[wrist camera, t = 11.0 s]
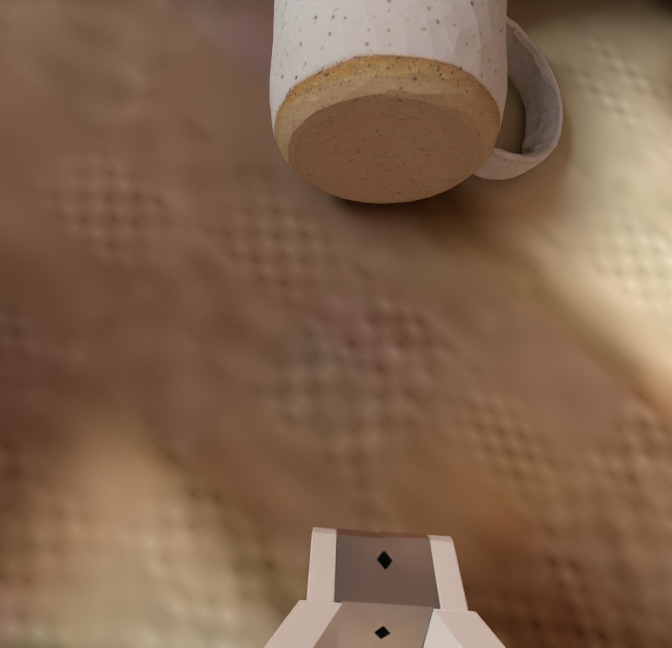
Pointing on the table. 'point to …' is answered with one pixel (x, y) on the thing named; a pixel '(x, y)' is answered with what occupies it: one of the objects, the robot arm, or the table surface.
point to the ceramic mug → (405, 95)
